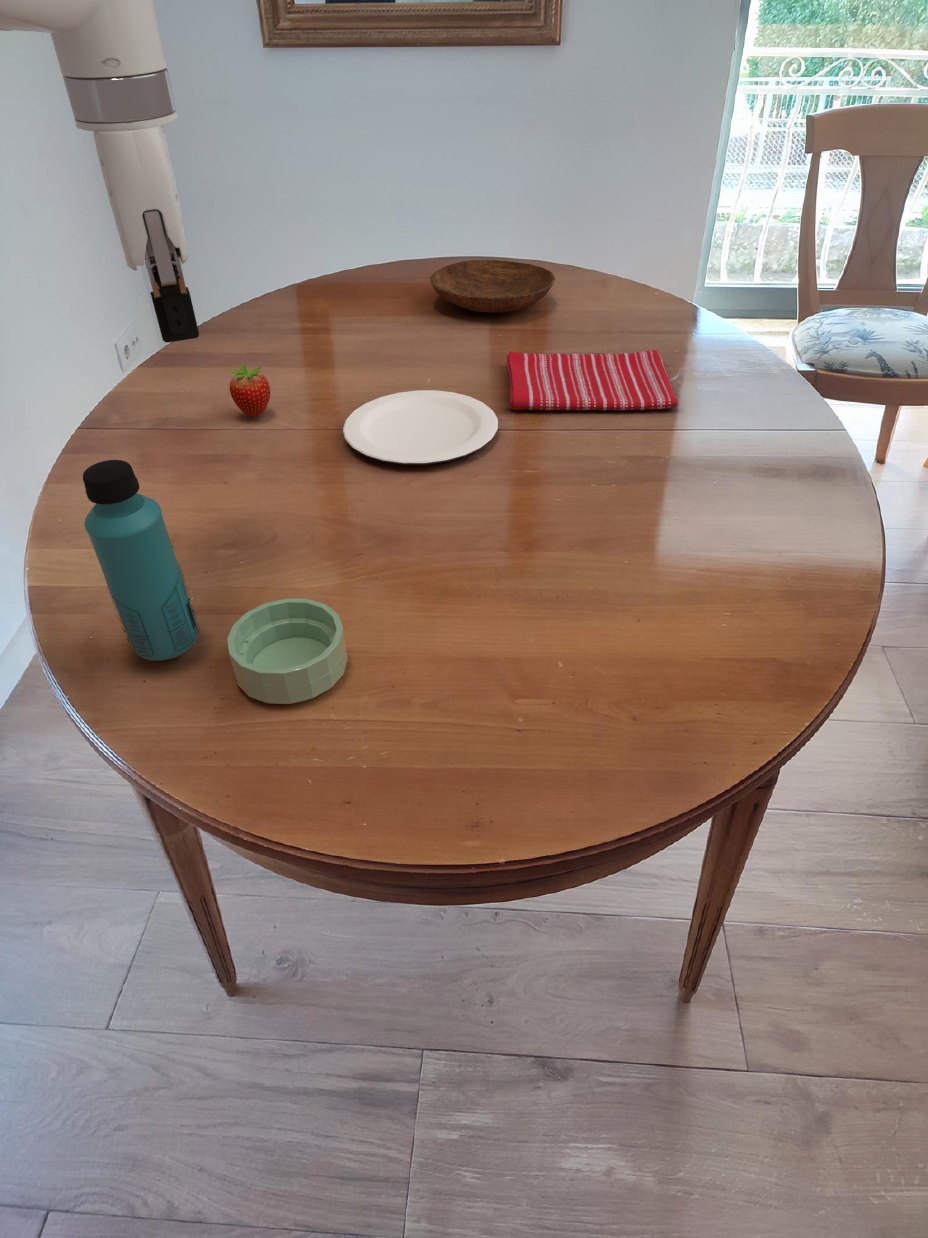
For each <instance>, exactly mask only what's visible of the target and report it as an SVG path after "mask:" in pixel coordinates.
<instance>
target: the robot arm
mask: <svg viewBox="0 0 928 1238" xmlns="http://www.w3.org/2000/svg"><path fill="white" fill-rule="evenodd" d="M156 13H157V12H156V9H155V5H154V0H0V31H3V32H5V31H6V32H13V31H18V32H19V31H20V32H35V33H36V32H37V33H48V34H50V36H51V40H52V43H53V48H54V51H55V54H56V58H57V62H58V64H59V69H60V72H61V75H62V79H63V82H64V86H65V89H66V93H67V97H68V100H69V103H70V107H71V111H72V115H73V118H74V122H75V126H76V128H77V129H79V130H83V131H89V132H93V138H94V139H93V140H94V143H95V149H96V153H97V158H98V161H99V166H100V170H101V174H102V177H103V181H104V185H105V188H106V193H107V196H108V200H109V203H110V207H111V211H112V214H113V218H114V222H115V225H116V229H117V232H118V235H119V239H120V244H121V247H122V250H123V254H124V258H125V261H126V265H127V267H128V268H129V269H130V270H132V271H138V268H137V267H139V266H144V265H145V269H146V270H147V273H148V277H149V282H150V285H151V289H152V291H150V292H149V294H150V298H151V301H152V303H153V309H154V312H155V316H156V320H157V323H158V328H159V332H160V335H161V339H162V341H163V342H164V343H166V344H167V343H173V342H180V341H181V342H182V341H187V340H193V339H197V338H199V337H200V331H199V327H198V323H197V318H196V313H195V310H194V306H193V301H192V297H191V293H190V289H189V287H188V286H186V281H185V277H184V273H183V268H182V265H184V264H185V263H186V262H187V261H188V259H189V253H188V252H189V251H188V246H187V239H186V232H185V225H184V218H183V214H182V207H181V202H180V197H179V191H178V187H177V182H176V177H175V172H174V167H173V163H172V158H171V153H170V149H169V145H168V139H167V136H166V131H165V126H166V125H169V124H172V123H174V122H176V121H177V120H178V113H177V110H176V109H177V108H176V104H175V99H174V93H173V89H172V84H171V80H170V76H169V75H170V74H169V70H168V68H167V67H168V66H167V62H166V55H165V53H164V52H165V51H164V47H163V41H162V38H161V33H160V28H159V23H158V19H157V14H156Z"/></svg>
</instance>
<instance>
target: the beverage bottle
mask: <svg viewBox="0 0 928 1238" xmlns="http://www.w3.org/2000/svg"><path fill="white" fill-rule="evenodd" d="M82 481H83V485H84V489H85V494H86V497H87V500H89V502H91V503H93V504H94V505H93V506H92V508H91V509H90V510H89V511H88V513H87V515H86V517H85V519H84V522H83V523H84V525H83V526H84V529H85V531H86V533H87V534H88V537H89V540H90V542H91V545H92V547H93V550H94V552H95V553H94V554H95V556H96V558H97V561H98V563H99V565H100V568H101V571H102V576H103V578H102V579H103V581H104V579H105V582H106V585H107V586H106V585H105V584H104V585H105V587H106V589H107V591H108V595H109V597H110V599H112V602H113V606H114V607H115V608H114V610H115V611H116V612H117V614H116V616H117V619H118V620H119V622H121V624H120V626H121V628H122V631H123V633H124V636H125V637H126V639H127V642H128V644H129V647H131V649H132V651H133V652H134V653H135V654H137V656H138V657H140V658H142V659H144V660H148V661H153V662H154V661H155V662H157V661H158V662H159V661H161V662H162V661H167V660H171V659H174V658H177V657H179V656H181V655H183V654H185V653H186V652H188V651H189V650H190V649H192V647H193V646H194V645H195V643H196V642H197V641H198V637H199V632H200V630H199V625H198V619H197V618H198V617H197V615H196V611H195V609H194V607H193V606H192V602H191V601H192V598H191V597H192V596H191V594H190V592H189V590H188V585H187V582H186V580H185V576H184V574H183V573H182V570H183V569H182V567H180V565H181V563H180V562H179V561H178V559H177V552H176V550H175V548H174V546H173V544H172V542H171V538H170V536H169V533H168V529H167V527H166V524H165V521H164V517H163V512H162V511H163V510H162V508H161V506H160V504H159V503H158V502H157V501H156V500H155V499H153V498H151V497H149V496H146V495H143V494H141V493H138V492H139V490H140V482H139V479H138V478H137V476H136V474H135V472H134V469H133V467H132V465H131V464H130V463H129V462H128V461H126V460H123V459H122V460H121V459H108V460H103V461H98V462H96V463H93V464H92V465H90V466H89V467H87V468H85V470H84V471H83V473H82ZM178 562H179V563H178Z"/></svg>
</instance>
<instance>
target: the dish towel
mask: <svg viewBox="0 0 928 1238" xmlns="http://www.w3.org/2000/svg"><path fill="white" fill-rule="evenodd" d="M506 369H507V372H508V375H509V376H508V377H509V378H508V379H509V389H510V391H509V409H510V410H513V411H522V410H523V411H524V410H529V411H596V410H597V411H644V410H665V409H674V408H677V406H678V405H679V400H678V399H677V397H676V395H675V392H674V390H673V387H672V384H671V381H670V378H669V376H668V373H667V370H666V368H665V366H664V363H663V360H662V357H661V355H660V353H659V352H658V350H657V349H648V350H641V351H634V352H632V353H628V352H624V353H597V354H594V353H589V354H587V353H581V354H579V353H553V354H544V353H526V352H523V353H522V352H518V351H513V350H510V351H508V355H507V356H506Z"/></svg>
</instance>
